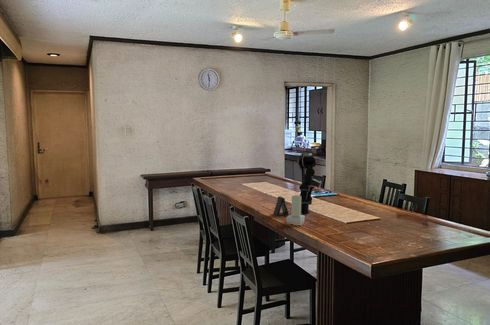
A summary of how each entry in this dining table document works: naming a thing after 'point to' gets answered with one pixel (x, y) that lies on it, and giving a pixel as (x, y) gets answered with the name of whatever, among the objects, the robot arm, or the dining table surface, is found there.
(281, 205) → the phone stand
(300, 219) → the top slab
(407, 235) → the dining table surface
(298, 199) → the pillar
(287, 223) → the base slab
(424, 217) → the dining table surface
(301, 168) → the robot arm
